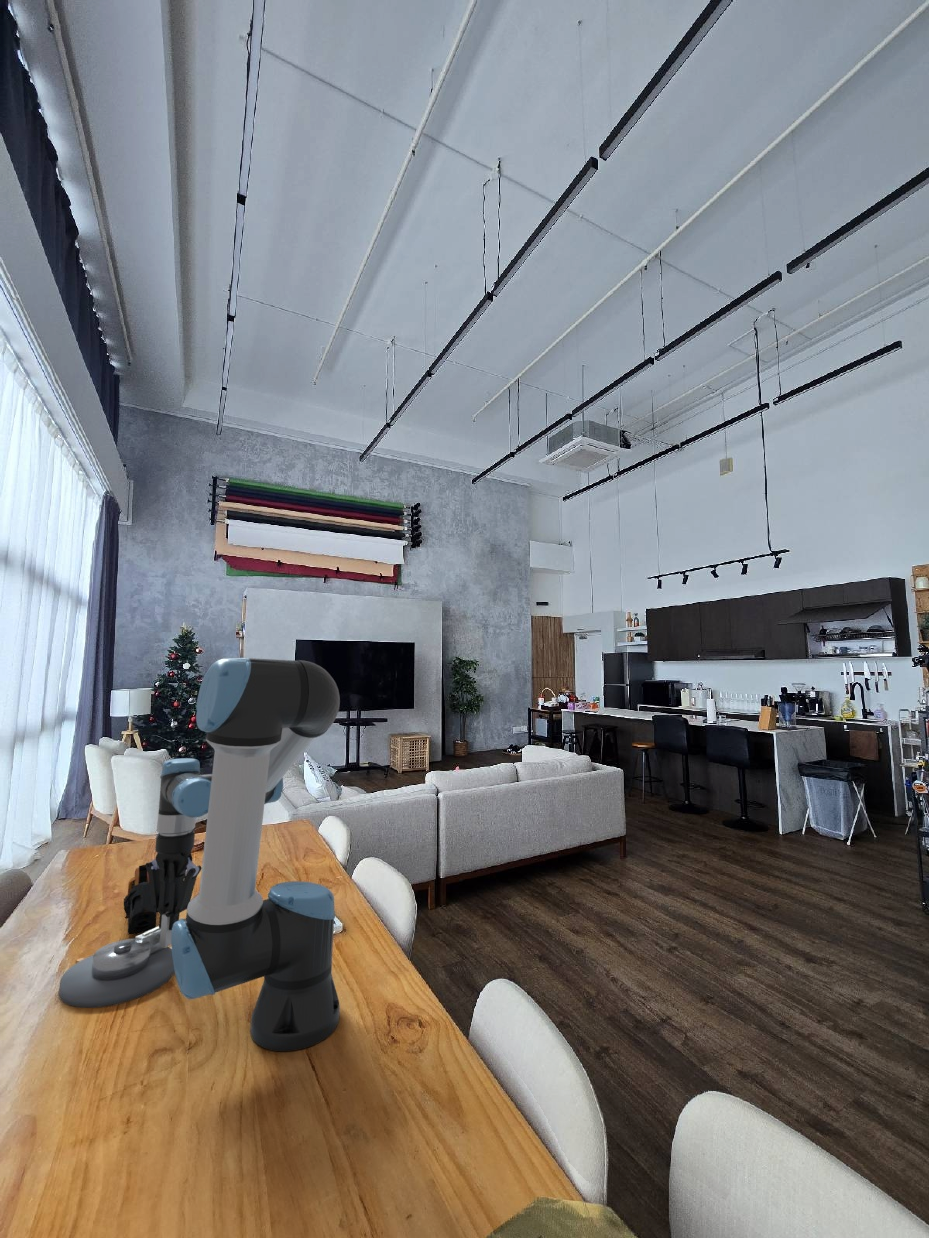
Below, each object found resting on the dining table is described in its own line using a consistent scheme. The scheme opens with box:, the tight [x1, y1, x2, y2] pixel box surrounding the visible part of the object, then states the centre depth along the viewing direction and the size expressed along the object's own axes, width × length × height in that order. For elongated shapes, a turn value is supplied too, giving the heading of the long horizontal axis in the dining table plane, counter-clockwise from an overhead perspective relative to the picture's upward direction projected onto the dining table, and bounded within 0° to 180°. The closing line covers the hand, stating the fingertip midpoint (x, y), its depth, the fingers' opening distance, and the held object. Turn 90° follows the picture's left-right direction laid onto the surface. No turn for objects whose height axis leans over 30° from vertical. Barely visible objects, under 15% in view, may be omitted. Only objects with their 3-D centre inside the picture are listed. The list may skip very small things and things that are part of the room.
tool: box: [123, 863, 159, 935], centre depth 136 cm, size 8×23×15 cm, turn 31°
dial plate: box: [58, 946, 175, 1009], centre depth 112 cm, size 22×22×2 cm
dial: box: [92, 925, 162, 980], centre depth 113 cm, size 16×10×4 cm, turn 158°
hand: (167, 944), depth 117 cm, fingers closed
